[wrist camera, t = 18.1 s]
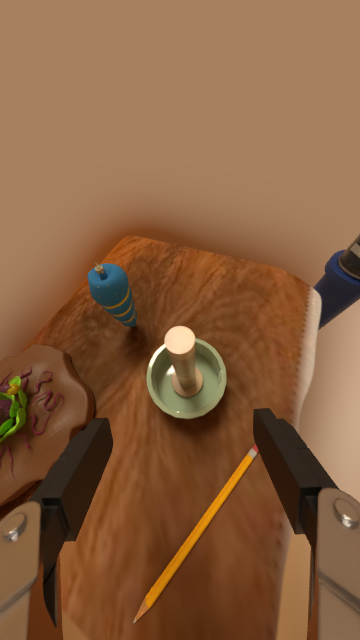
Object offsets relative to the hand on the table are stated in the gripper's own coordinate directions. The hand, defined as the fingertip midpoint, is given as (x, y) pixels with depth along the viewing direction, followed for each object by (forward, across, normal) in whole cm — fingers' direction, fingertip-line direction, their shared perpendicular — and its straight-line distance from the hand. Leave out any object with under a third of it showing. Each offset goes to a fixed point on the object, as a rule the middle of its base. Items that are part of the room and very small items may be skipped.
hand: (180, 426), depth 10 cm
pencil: (+5, -1, +18) cm, 19 cm away
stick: (+15, 0, +7) cm, 17 cm away
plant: (+13, +25, +10) cm, 30 cm away
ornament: (+23, +9, 0) cm, 25 cm away
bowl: (+16, 0, +8) cm, 18 cm away
